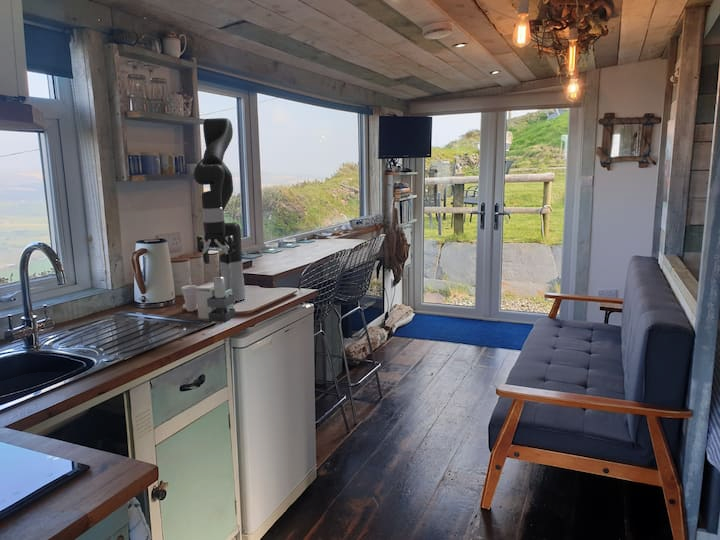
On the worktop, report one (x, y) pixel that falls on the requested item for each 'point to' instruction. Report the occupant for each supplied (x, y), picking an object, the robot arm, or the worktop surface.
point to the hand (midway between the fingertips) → (217, 263)
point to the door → (221, 294)
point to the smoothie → (190, 296)
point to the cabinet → (212, 304)
